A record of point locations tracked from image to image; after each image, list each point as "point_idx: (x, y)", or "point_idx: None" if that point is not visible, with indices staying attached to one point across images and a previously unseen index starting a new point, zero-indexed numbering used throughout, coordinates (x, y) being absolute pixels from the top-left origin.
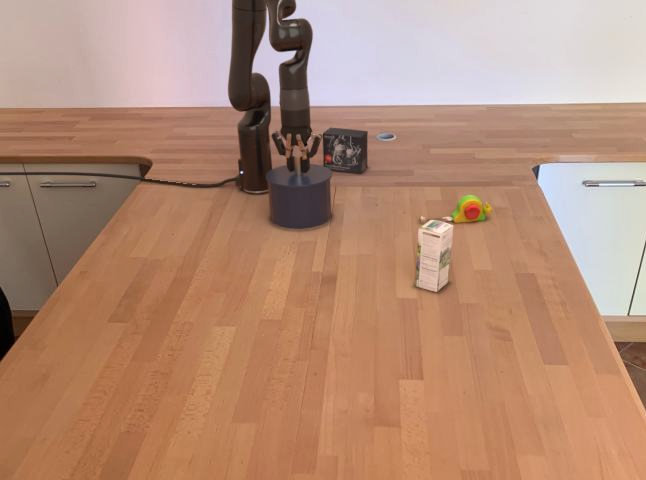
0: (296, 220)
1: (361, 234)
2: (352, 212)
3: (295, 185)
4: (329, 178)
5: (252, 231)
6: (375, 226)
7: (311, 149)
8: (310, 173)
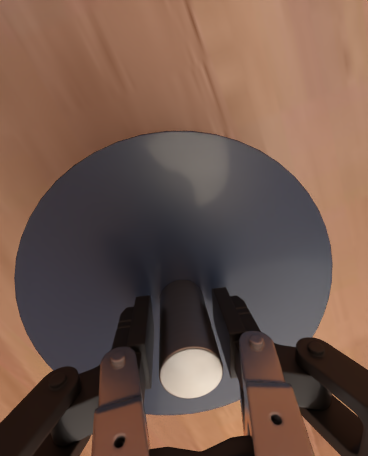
0: None
1: (341, 262)
2: (289, 144)
3: (225, 402)
4: (327, 285)
5: None
6: (365, 211)
7: (347, 453)
8: (230, 272)
